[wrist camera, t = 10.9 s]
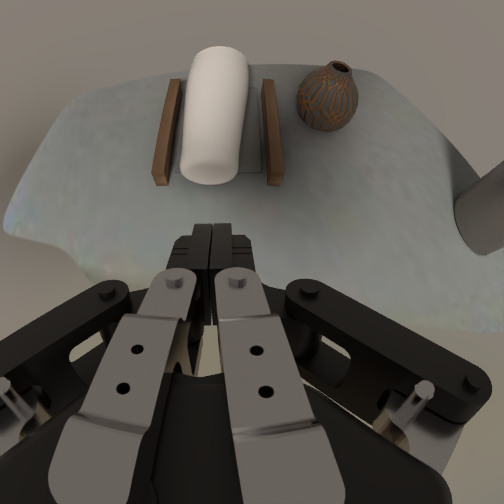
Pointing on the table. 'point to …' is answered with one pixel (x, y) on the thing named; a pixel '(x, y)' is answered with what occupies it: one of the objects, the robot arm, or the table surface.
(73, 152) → the table surface
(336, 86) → the vase
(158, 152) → the cradle
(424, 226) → the table surface
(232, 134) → the white cup
